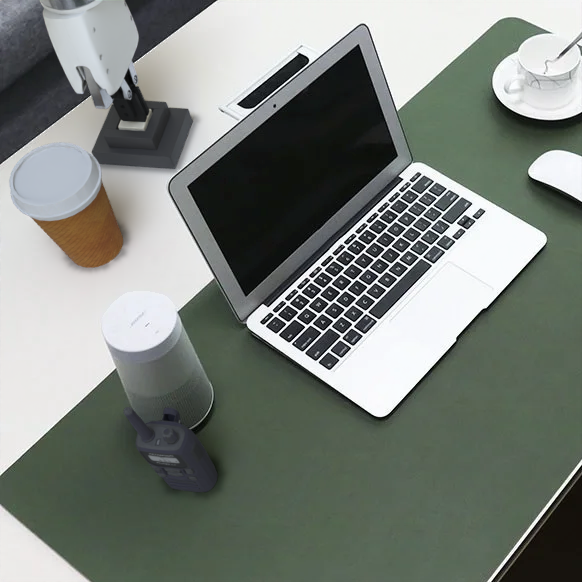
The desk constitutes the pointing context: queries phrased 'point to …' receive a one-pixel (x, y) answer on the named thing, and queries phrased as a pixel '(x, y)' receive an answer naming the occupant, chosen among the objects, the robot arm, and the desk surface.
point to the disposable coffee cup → (68, 202)
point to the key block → (144, 139)
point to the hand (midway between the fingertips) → (135, 116)
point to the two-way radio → (174, 451)
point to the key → (135, 124)
